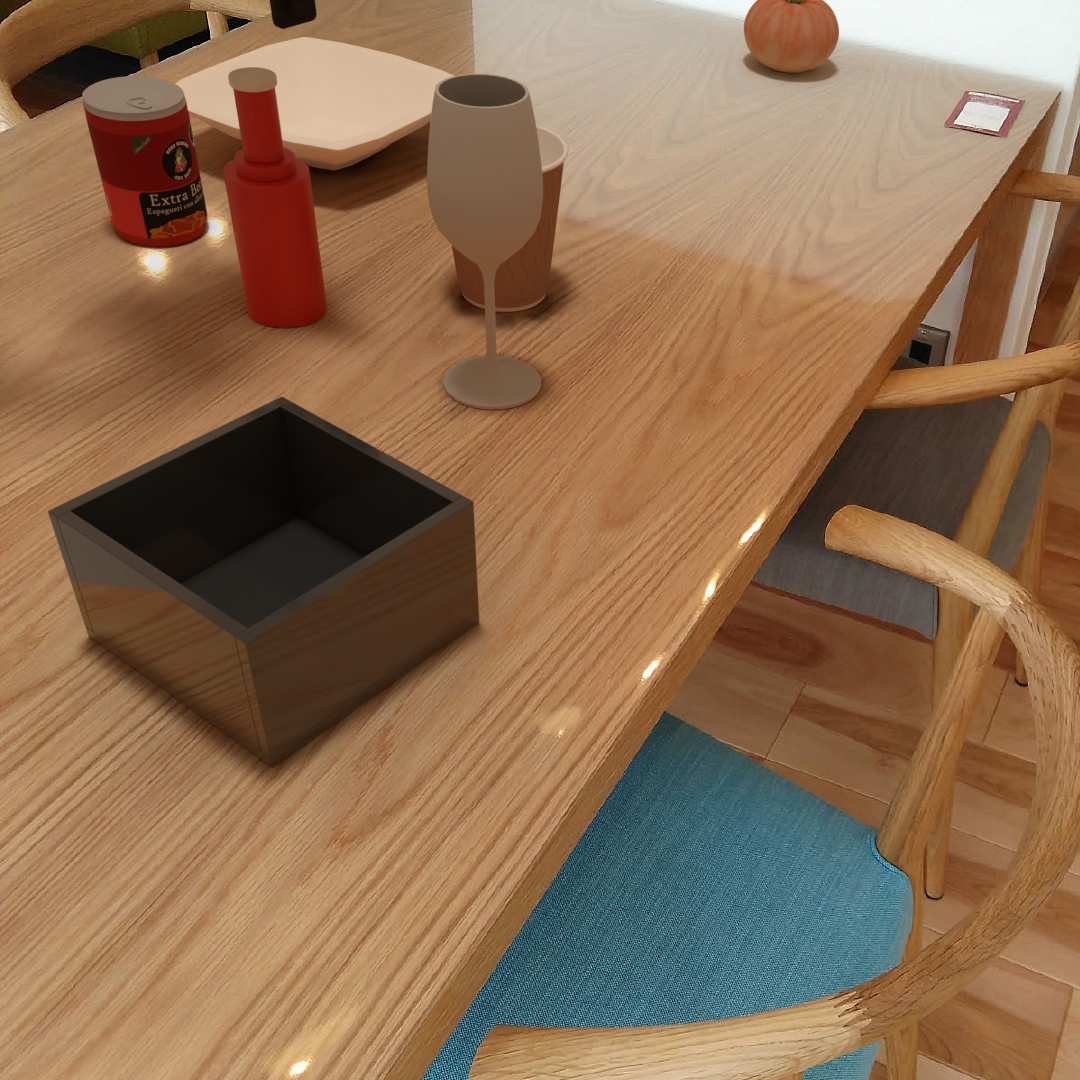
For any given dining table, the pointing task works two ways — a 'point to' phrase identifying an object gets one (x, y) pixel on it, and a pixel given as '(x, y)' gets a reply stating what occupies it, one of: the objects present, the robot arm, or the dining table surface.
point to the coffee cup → (531, 265)
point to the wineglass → (486, 210)
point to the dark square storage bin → (272, 573)
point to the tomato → (791, 33)
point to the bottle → (272, 211)
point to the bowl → (325, 98)
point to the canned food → (146, 159)
